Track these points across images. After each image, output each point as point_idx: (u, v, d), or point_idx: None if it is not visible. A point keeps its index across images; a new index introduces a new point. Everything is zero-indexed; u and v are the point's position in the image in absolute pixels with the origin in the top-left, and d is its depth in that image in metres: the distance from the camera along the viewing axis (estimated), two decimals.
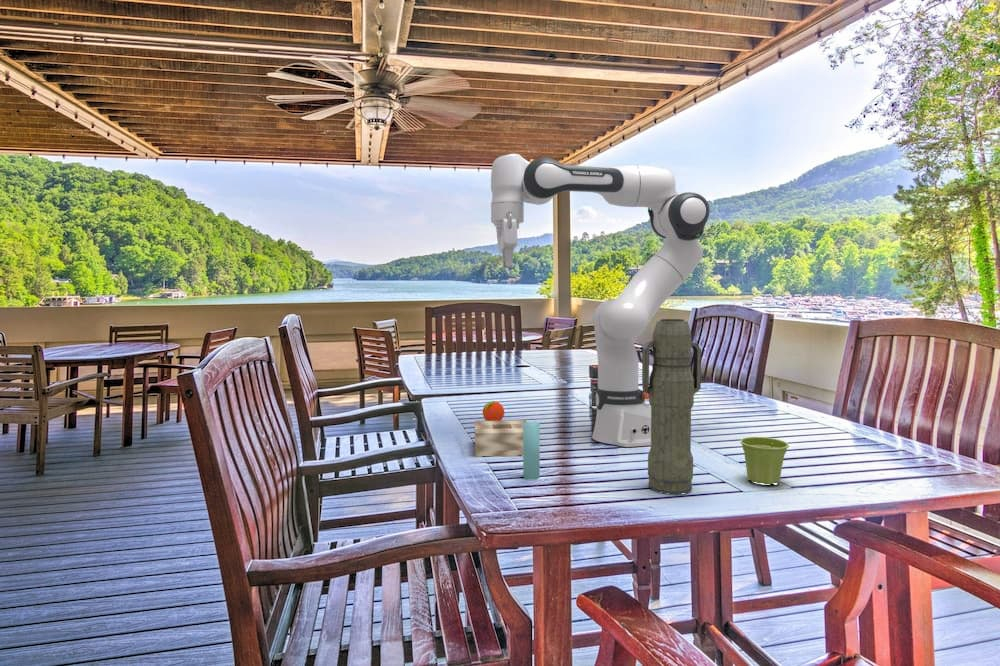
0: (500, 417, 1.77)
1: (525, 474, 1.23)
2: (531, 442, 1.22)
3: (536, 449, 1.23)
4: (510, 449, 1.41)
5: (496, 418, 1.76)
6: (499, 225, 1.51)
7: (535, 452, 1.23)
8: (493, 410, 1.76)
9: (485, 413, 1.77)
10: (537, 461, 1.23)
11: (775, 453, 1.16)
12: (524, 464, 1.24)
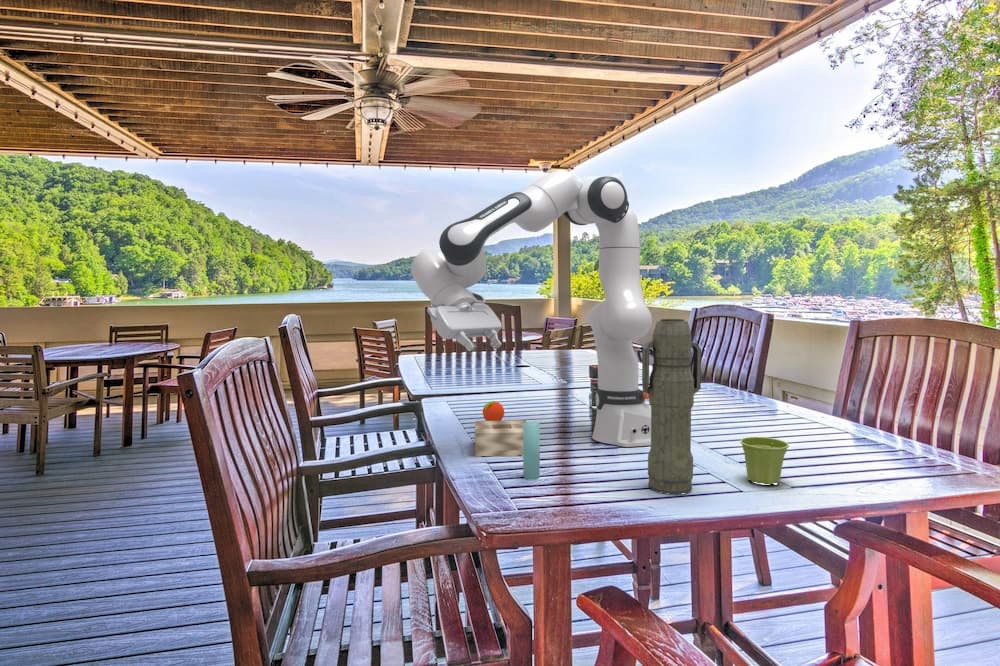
0: (500, 417, 1.77)
1: (525, 474, 1.23)
2: (531, 442, 1.22)
3: (536, 449, 1.23)
4: (510, 449, 1.41)
5: (496, 418, 1.76)
6: None
7: (535, 452, 1.23)
8: (493, 410, 1.76)
9: (485, 413, 1.77)
10: (537, 461, 1.23)
11: (775, 453, 1.16)
12: (524, 464, 1.24)
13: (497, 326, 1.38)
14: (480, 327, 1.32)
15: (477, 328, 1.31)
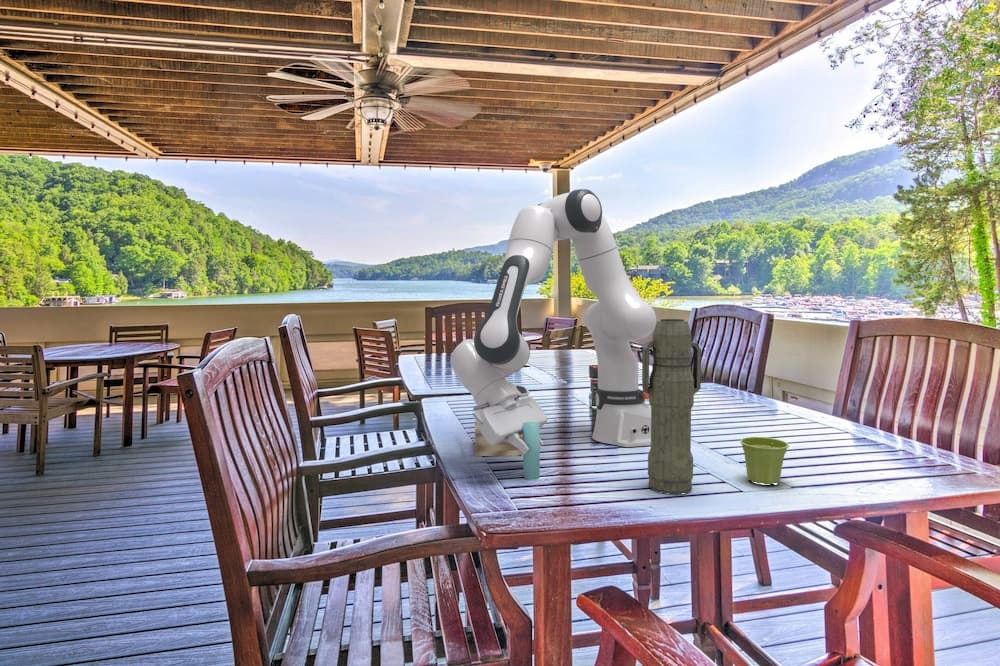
0: None
1: (525, 474, 1.23)
2: (531, 442, 1.22)
3: (536, 449, 1.23)
4: (510, 449, 1.41)
5: None
6: None
7: (535, 452, 1.23)
8: None
9: None
10: (537, 461, 1.23)
11: (775, 453, 1.16)
12: (524, 464, 1.24)
13: (543, 420, 1.31)
14: None
15: None
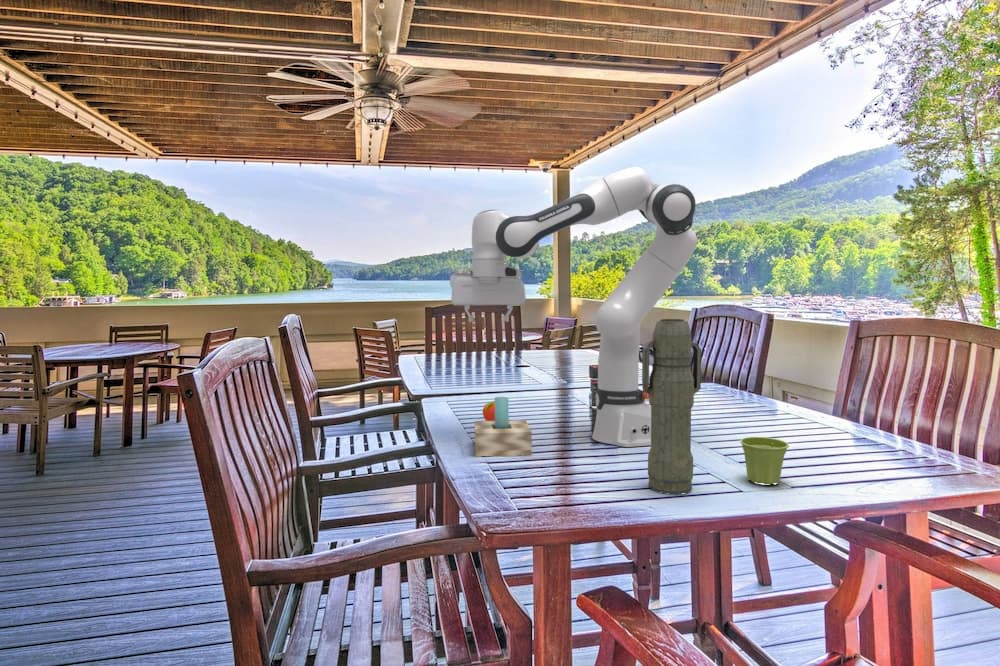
0: None
1: None
2: (501, 413, 1.46)
3: (505, 419, 1.46)
4: (510, 449, 1.41)
5: None
6: None
7: (504, 421, 1.46)
8: (493, 410, 1.76)
9: (485, 413, 1.77)
10: None
11: (775, 453, 1.16)
12: None
13: (516, 303, 1.52)
14: (491, 304, 1.52)
15: (487, 304, 1.52)
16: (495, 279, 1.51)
